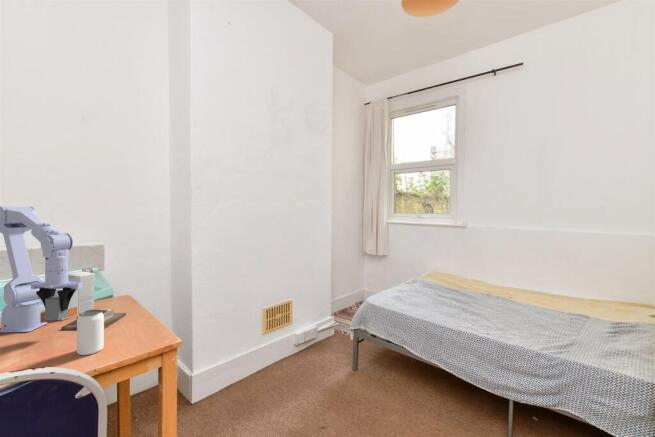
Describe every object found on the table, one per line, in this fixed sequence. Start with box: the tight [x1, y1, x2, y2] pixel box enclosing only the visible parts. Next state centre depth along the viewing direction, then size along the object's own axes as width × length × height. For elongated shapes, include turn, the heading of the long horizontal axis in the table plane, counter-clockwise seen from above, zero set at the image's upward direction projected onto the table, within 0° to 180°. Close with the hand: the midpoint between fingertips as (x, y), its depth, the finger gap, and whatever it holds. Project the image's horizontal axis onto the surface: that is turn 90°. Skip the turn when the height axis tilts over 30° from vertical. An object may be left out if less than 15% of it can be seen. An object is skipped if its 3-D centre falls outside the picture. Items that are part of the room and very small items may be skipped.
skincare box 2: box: [68, 270, 96, 314], centre depth 124 cm, size 8×7×16 cm
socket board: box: [61, 308, 127, 331], centre depth 112 cm, size 14×14×4 cm
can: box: [76, 309, 105, 356], centre depth 90 cm, size 6×6×12 cm
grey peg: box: [44, 295, 68, 321], centre depth 98 cm, size 4×4×7 cm
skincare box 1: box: [54, 289, 79, 321], centre depth 115 cm, size 6×4×12 cm
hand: (56, 309), depth 98 cm, fingers closed on grey peg, 4 cm apart
